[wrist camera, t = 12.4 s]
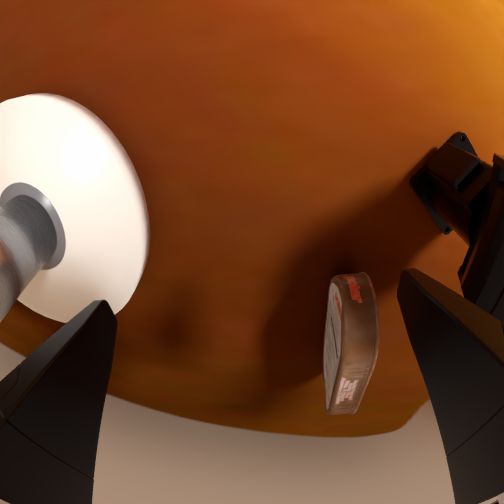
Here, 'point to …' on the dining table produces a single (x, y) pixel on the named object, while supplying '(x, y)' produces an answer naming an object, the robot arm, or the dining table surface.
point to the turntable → (75, 202)
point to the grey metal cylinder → (23, 246)
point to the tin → (349, 341)
